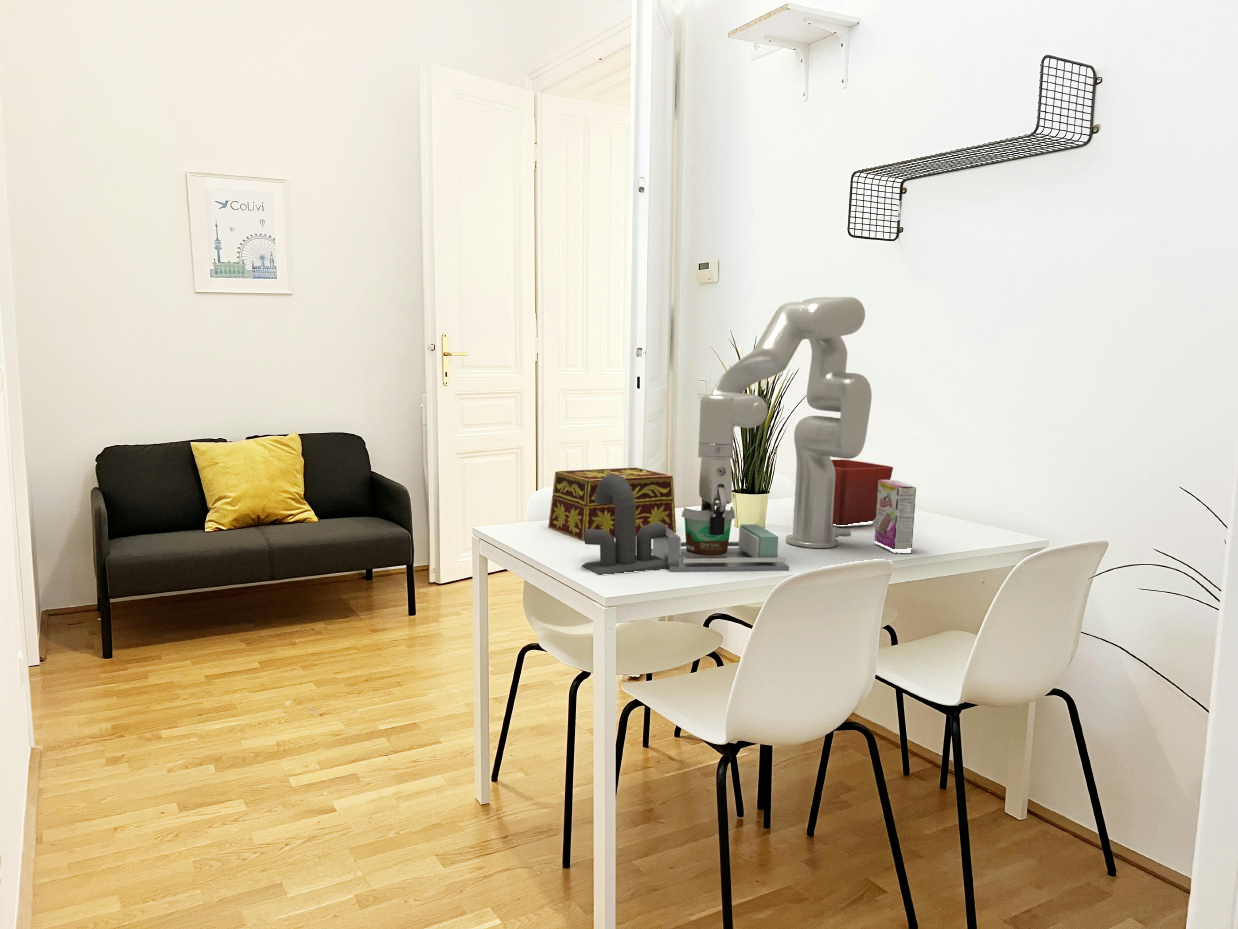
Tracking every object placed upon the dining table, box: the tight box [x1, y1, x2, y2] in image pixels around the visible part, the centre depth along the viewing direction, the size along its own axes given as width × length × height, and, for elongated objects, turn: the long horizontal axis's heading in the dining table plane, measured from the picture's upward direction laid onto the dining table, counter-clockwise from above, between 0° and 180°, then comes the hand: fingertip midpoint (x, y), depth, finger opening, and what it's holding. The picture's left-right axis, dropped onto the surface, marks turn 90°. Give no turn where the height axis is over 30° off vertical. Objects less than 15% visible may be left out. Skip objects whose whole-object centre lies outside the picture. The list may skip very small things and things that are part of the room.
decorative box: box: [547, 467, 677, 542], centre depth 236 cm, size 28×19×15 cm
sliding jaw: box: [738, 523, 779, 563], centre depth 206 cm, size 4×14×6 cm, turn 11°
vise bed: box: [651, 525, 790, 573], centre depth 205 cm, size 26×18×7 cm
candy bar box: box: [874, 479, 917, 549], centre depth 224 cm, size 11×5×16 cm, turn 9°
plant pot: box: [831, 458, 894, 525], centre depth 257 cm, size 19×19×17 cm
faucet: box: [581, 474, 667, 576], centre depth 198 cm, size 18×16×20 cm
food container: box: [681, 506, 736, 556], centre depth 204 cm, size 12×6×10 cm, turn 105°
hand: (712, 530), depth 204 cm, fingers closed on food container, 6 cm apart
